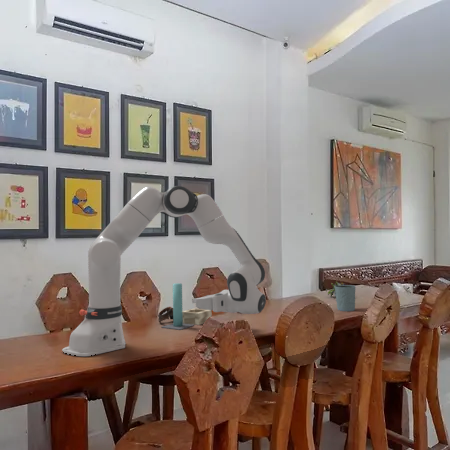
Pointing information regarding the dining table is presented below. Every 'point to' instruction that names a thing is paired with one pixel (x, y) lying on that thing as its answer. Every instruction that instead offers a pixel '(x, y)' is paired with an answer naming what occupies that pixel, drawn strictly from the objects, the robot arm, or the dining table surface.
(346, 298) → the blue-grey planter
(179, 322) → the peg
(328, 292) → the passion flower
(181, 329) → the mat
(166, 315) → the brown hollow arch
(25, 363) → the dining table surface
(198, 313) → the socket block
